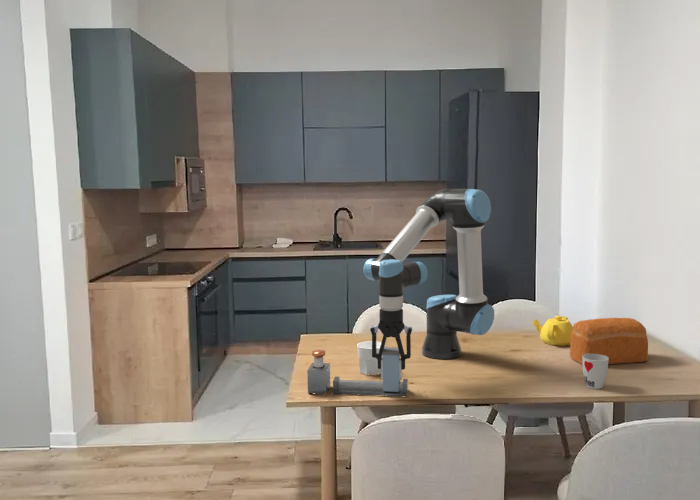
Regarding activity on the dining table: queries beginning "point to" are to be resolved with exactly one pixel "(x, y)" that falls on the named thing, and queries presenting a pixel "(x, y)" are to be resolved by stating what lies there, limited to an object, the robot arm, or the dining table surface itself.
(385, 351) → the grey rectangular block
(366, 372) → the cup
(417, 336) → the dining table surface
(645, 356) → the bread
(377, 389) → the rail
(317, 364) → the plunger
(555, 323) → the teapot
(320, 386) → the gauge cabinet
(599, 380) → the cup
